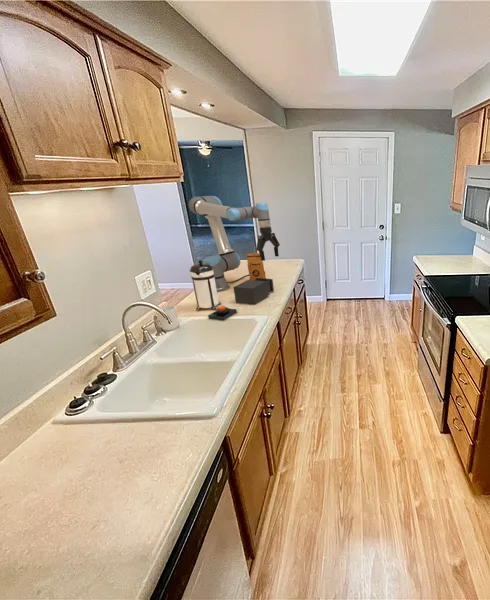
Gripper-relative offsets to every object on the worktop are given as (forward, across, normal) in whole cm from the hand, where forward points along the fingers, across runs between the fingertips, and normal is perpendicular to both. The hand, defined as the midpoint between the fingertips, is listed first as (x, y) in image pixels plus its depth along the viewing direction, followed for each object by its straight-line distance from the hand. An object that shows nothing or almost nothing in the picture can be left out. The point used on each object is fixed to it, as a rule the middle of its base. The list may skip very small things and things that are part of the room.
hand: (270, 258), depth 225 cm
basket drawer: (+22, -9, +4) cm, 24 cm away
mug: (+23, -71, +10) cm, 75 cm away
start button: (+20, -48, -3) cm, 52 cm away
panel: (+24, -48, -2) cm, 54 cm away
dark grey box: (+23, -20, +2) cm, 31 cm away
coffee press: (+22, -42, +17) cm, 50 cm away
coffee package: (+22, +13, +29) cm, 38 cm away
